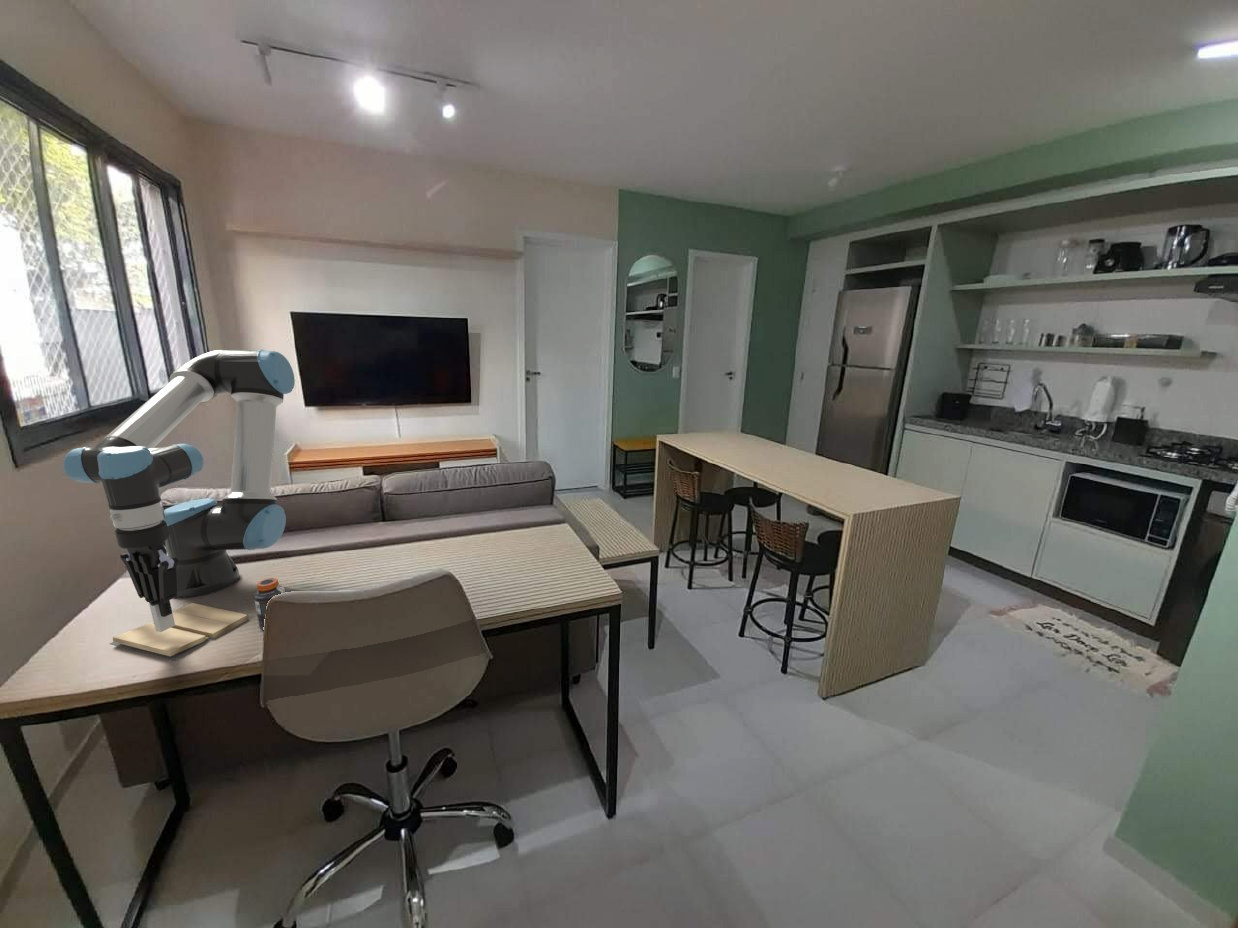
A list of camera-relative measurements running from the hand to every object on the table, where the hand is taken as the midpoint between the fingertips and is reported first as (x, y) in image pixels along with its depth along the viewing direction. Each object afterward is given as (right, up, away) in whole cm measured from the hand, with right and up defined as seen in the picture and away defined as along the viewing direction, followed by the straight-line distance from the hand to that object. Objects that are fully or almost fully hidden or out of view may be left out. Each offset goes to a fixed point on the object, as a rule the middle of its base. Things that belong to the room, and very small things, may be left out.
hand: (165, 627), depth 104 cm
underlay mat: (-3, -3, +8) cm, 10 cm away
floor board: (-2, -3, +12) cm, 12 cm away
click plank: (-4, -4, +4) cm, 7 cm away
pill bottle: (+15, -3, +12) cm, 19 cm away
